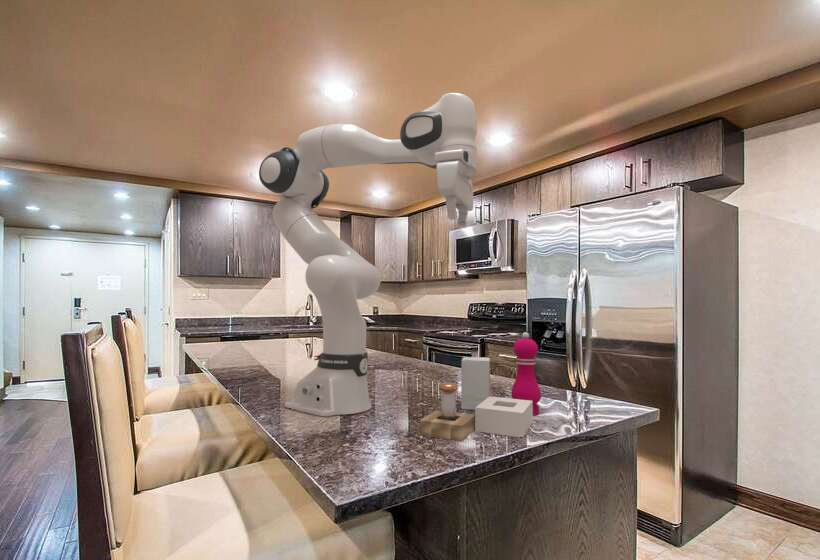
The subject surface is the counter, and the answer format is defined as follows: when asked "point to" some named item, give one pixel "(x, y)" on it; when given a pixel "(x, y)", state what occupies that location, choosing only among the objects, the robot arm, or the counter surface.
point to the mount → (447, 426)
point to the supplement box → (474, 381)
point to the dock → (504, 416)
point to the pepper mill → (526, 372)
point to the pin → (448, 401)
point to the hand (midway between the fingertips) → (457, 223)
